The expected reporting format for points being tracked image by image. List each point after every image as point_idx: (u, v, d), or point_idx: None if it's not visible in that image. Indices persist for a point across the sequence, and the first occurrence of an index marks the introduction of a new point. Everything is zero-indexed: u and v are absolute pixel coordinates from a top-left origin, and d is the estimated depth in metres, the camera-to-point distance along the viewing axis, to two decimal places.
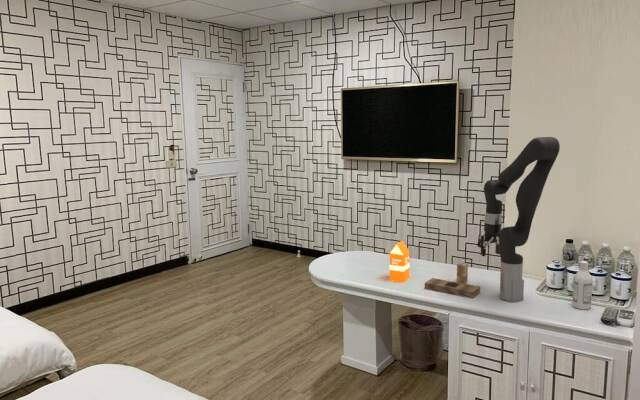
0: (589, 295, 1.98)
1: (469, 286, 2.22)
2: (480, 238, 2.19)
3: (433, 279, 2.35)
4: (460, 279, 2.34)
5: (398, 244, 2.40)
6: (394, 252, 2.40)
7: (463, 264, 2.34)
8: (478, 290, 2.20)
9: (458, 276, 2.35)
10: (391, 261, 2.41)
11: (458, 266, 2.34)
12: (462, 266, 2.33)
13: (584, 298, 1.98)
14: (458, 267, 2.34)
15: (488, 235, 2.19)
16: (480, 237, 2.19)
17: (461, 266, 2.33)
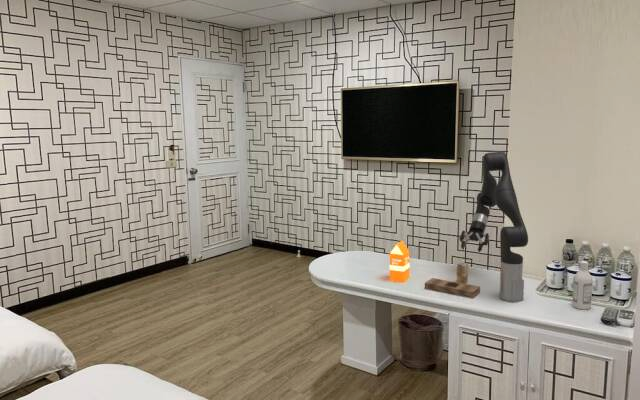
0: (589, 295, 1.98)
1: (469, 286, 2.22)
2: None
3: (433, 279, 2.35)
4: (460, 279, 2.34)
5: (398, 244, 2.40)
6: (394, 252, 2.40)
7: (463, 264, 2.34)
8: (478, 290, 2.20)
9: (458, 276, 2.35)
10: (391, 261, 2.41)
11: (458, 266, 2.34)
12: (462, 266, 2.33)
13: (584, 298, 1.98)
14: (458, 267, 2.34)
15: (469, 231, 2.48)
16: None
17: (461, 266, 2.33)
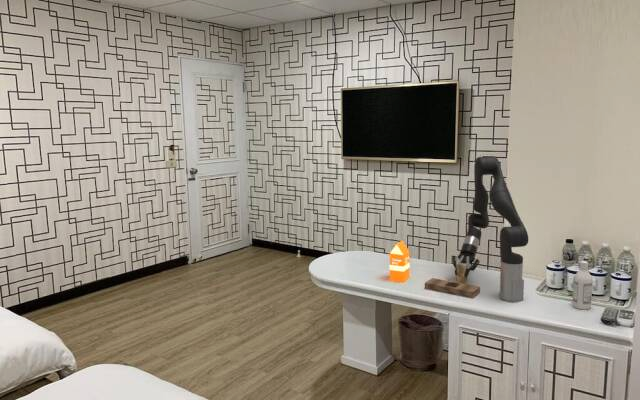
0: (589, 295, 1.98)
1: (469, 286, 2.22)
2: (453, 259, 2.42)
3: (433, 279, 2.35)
4: (460, 278, 2.34)
5: (398, 244, 2.40)
6: (394, 252, 2.40)
7: (463, 264, 2.34)
8: (478, 290, 2.20)
9: (458, 276, 2.35)
10: (391, 261, 2.41)
11: (458, 266, 2.34)
12: (462, 266, 2.33)
13: (584, 298, 1.98)
14: (458, 267, 2.34)
15: (460, 254, 2.40)
16: None
17: (461, 266, 2.33)
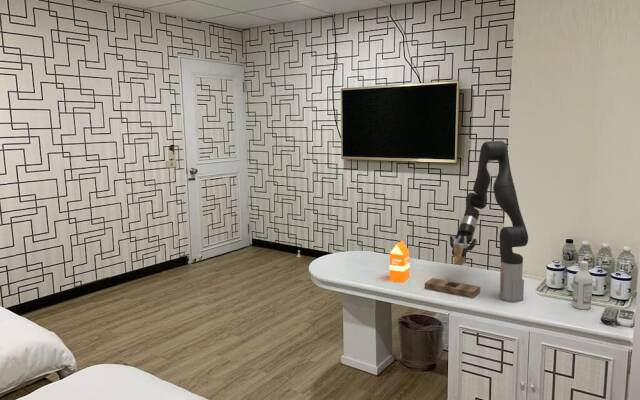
0: (589, 295, 1.98)
1: (469, 286, 2.22)
2: None
3: (433, 279, 2.35)
4: (457, 259, 2.30)
5: (398, 244, 2.40)
6: (394, 252, 2.40)
7: (460, 244, 2.29)
8: (478, 290, 2.20)
9: (455, 256, 2.30)
10: (391, 261, 2.41)
11: (455, 246, 2.29)
12: (459, 246, 2.28)
13: (584, 298, 1.98)
14: (455, 247, 2.29)
15: (457, 234, 2.35)
16: None
17: (458, 246, 2.28)
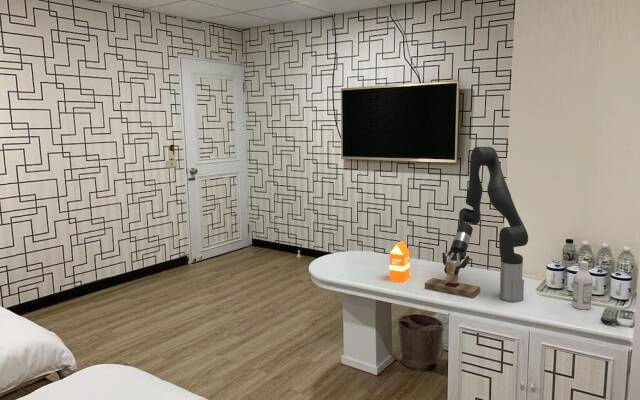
0: (589, 295, 1.98)
1: (469, 286, 2.22)
2: (443, 256, 2.31)
3: (433, 279, 2.35)
4: (450, 277, 2.24)
5: (398, 244, 2.40)
6: (394, 252, 2.40)
7: (453, 261, 2.23)
8: (478, 290, 2.20)
9: (448, 274, 2.24)
10: (391, 261, 2.41)
11: (448, 263, 2.23)
12: (452, 263, 2.22)
13: (584, 298, 1.98)
14: (448, 264, 2.23)
15: (450, 251, 2.30)
16: None
17: (451, 263, 2.22)
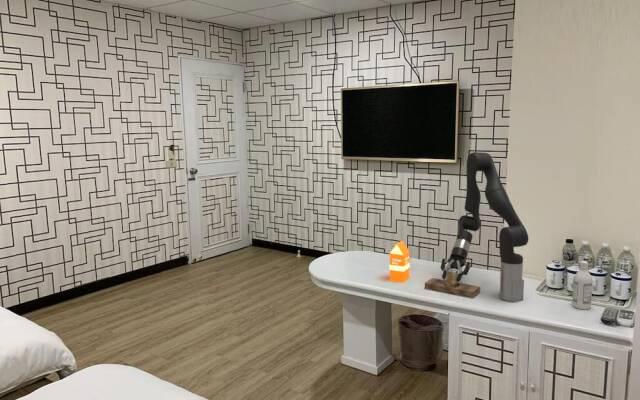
0: (589, 295, 1.98)
1: (469, 286, 2.22)
2: None
3: (433, 279, 2.35)
4: (450, 286, 2.24)
5: (398, 244, 2.40)
6: (394, 252, 2.40)
7: (453, 271, 2.24)
8: (478, 290, 2.20)
9: (448, 283, 2.25)
10: (391, 261, 2.41)
11: (448, 273, 2.24)
12: (452, 273, 2.23)
13: (584, 298, 1.98)
14: (448, 274, 2.24)
15: (450, 258, 2.30)
16: None
17: (451, 273, 2.23)
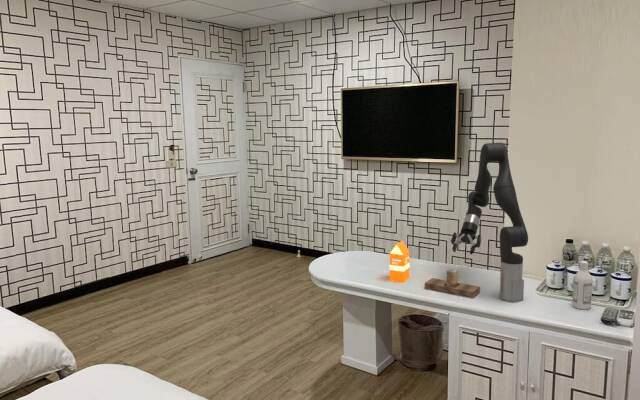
0: (589, 295, 1.98)
1: (469, 286, 2.22)
2: None
3: (433, 279, 2.35)
4: (450, 286, 2.24)
5: (398, 244, 2.40)
6: (394, 252, 2.40)
7: (453, 271, 2.24)
8: (478, 290, 2.20)
9: (448, 283, 2.25)
10: (391, 261, 2.41)
11: (448, 273, 2.24)
12: (452, 273, 2.23)
13: (584, 298, 1.98)
14: (448, 274, 2.24)
15: (461, 233, 2.39)
16: None
17: (451, 273, 2.23)
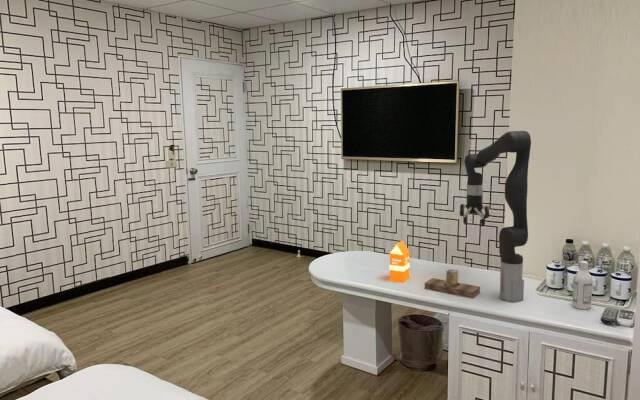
0: (589, 295, 1.98)
1: (469, 286, 2.22)
2: None
3: (433, 279, 2.35)
4: (450, 286, 2.24)
5: (398, 244, 2.40)
6: (394, 252, 2.40)
7: (453, 271, 2.24)
8: (478, 290, 2.20)
9: (448, 283, 2.25)
10: (391, 261, 2.41)
11: (448, 273, 2.24)
12: (452, 273, 2.23)
13: (584, 298, 1.98)
14: (448, 274, 2.24)
15: (467, 205, 2.38)
16: None
17: (451, 273, 2.23)
